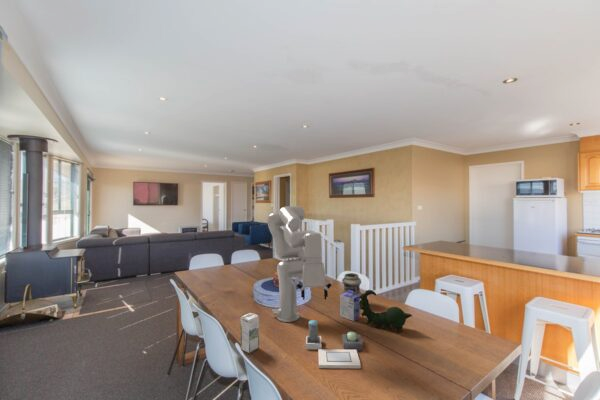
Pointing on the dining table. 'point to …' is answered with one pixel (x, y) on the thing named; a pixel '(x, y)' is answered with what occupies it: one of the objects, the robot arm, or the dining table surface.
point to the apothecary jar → (352, 284)
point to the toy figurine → (383, 314)
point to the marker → (313, 331)
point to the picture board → (338, 358)
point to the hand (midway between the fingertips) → (314, 298)
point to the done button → (351, 336)
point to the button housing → (352, 343)
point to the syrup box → (249, 332)
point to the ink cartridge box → (349, 306)
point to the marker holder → (313, 344)
